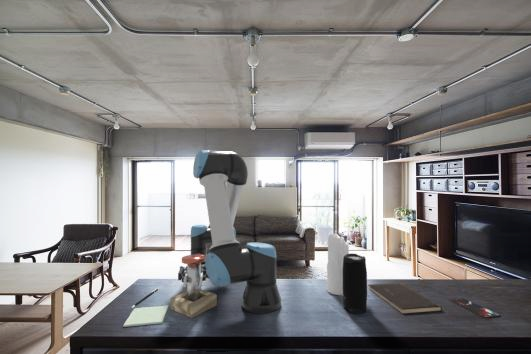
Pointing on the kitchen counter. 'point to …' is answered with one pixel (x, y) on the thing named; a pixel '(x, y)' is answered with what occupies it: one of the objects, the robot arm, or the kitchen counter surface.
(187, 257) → the steel peg
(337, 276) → the decorative vase
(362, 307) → the portable speaker
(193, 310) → the block
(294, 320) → the kitchen counter surface
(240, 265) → the robot arm
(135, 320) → the sage pad
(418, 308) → the hardcover book
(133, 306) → the pen
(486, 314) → the smartphone
